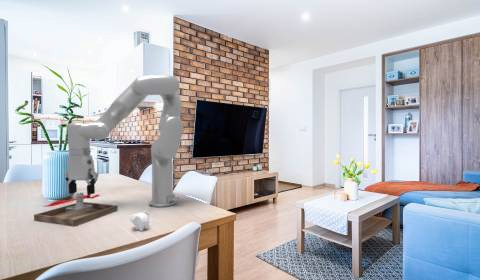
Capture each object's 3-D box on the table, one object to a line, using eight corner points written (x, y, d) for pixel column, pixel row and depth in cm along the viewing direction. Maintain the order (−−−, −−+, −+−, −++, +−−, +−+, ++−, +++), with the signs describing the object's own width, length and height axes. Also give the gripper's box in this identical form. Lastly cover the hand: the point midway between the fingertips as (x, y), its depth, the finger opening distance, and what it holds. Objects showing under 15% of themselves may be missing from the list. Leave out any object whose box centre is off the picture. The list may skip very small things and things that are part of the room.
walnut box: (117, 212, 110) (117, 205, 110) (74, 228, 90) (74, 220, 90) (81, 208, 115) (81, 201, 115) (34, 222, 96) (34, 214, 96)
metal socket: (92, 210, 109) (92, 205, 109) (78, 215, 102) (78, 209, 102) (80, 209, 111) (80, 203, 111) (65, 214, 104) (65, 208, 104)
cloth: (44, 210, 114) (44, 205, 114) (39, 204, 123) (39, 200, 123) (107, 200, 132) (107, 196, 132) (98, 195, 142) (98, 191, 142)
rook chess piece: (77, 210, 109) (76, 192, 109) (88, 210, 109) (88, 191, 109) (71, 214, 104) (70, 194, 104) (82, 213, 105) (82, 194, 105)
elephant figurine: (141, 224, 96) (141, 208, 95) (156, 228, 92) (156, 211, 91) (124, 229, 90) (124, 212, 90) (140, 234, 86) (140, 216, 86)
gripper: (103, 151, 107) (105, 192, 108) (72, 151, 113) (74, 190, 113) (88, 153, 100) (90, 196, 101) (55, 153, 105) (57, 194, 106)
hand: (81, 193), depth 107 cm, fingers open, 9 cm apart
